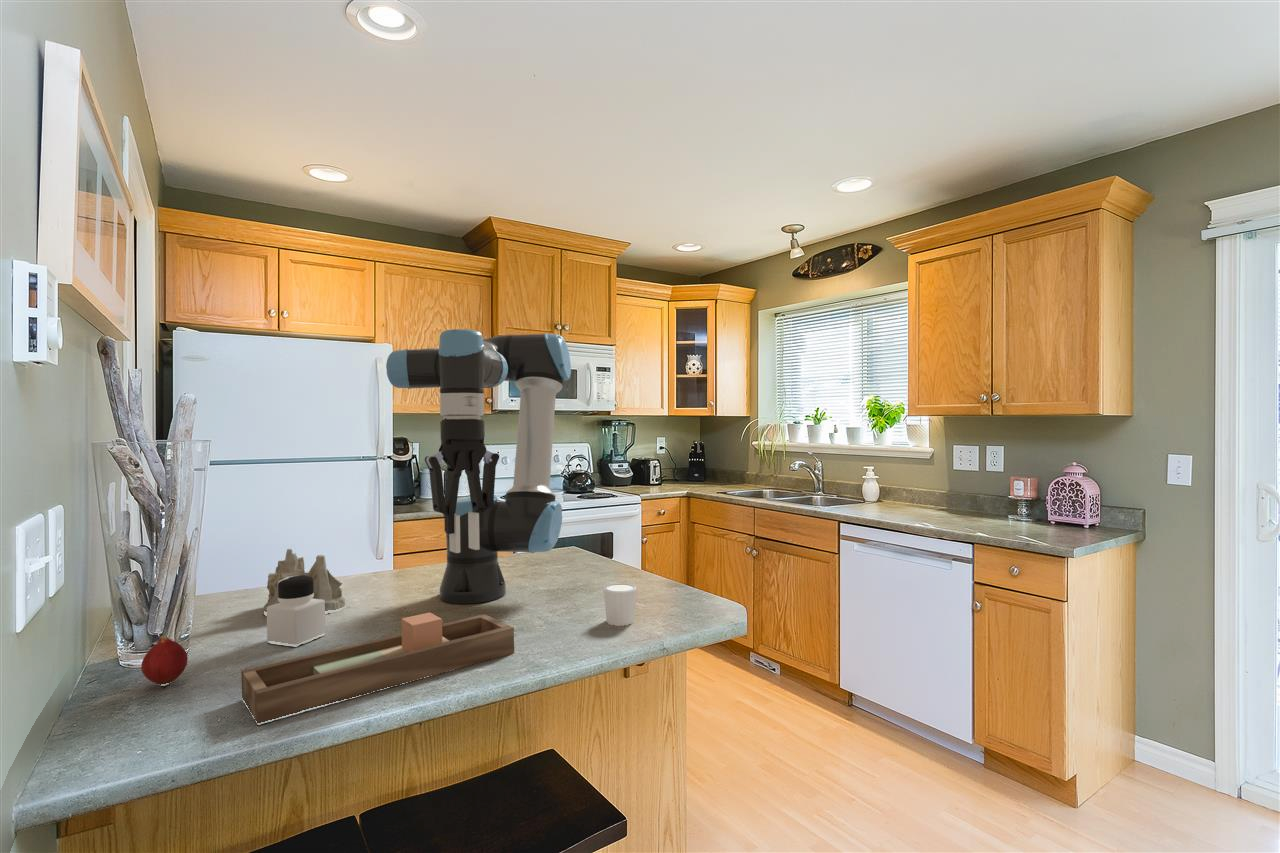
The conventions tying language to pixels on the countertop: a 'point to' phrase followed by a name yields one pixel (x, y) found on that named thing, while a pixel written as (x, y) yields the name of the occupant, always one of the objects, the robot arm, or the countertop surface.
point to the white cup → (620, 604)
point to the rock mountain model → (293, 566)
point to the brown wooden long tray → (369, 667)
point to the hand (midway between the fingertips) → (464, 549)
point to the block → (421, 631)
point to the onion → (164, 661)
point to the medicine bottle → (295, 612)
